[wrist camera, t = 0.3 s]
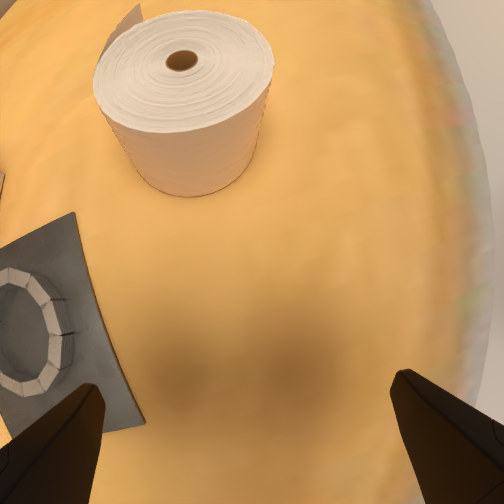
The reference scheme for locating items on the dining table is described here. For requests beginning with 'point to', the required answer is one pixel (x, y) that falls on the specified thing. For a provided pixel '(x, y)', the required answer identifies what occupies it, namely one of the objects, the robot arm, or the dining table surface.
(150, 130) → the toilet tissue
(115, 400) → the ring seat
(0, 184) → the small box
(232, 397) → the dining table surface
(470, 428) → the robot arm
